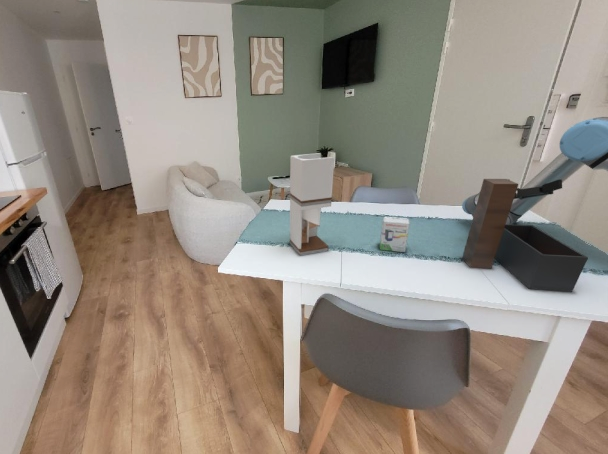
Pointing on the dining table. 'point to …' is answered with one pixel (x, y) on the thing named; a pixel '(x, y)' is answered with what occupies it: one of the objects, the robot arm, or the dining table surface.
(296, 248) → the white coffee grinder
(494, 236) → the post
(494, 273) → the dining table surface
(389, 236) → the ink box
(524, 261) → the trash bin
